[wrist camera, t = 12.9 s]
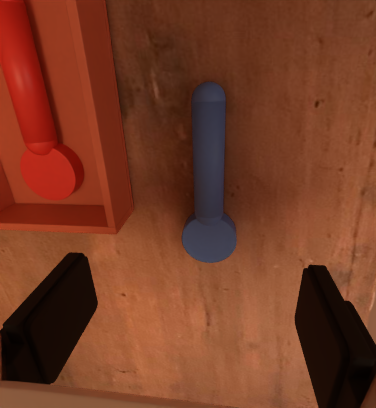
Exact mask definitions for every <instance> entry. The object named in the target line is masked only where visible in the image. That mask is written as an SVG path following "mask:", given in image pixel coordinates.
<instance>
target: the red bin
mask: <svg viewBox="0 0 376 408" xmlns="http://www.w3.org/2000/svg"><path fill="white" fill-rule="evenodd" d="M23 1H24V3H25V6H26V11H27V15H28V19H29V23H30V27H31V31H32V35H33V39H34V43H35V48H36V52H37V56H38V60H39V64H40V68H41V72H42V76H43V81H44V85H45V89H46V93H47V97H48V101H49V105H50V109H51V113H52V118H53V122H54V126H55V130H56V134H57V138H58V142H59V143H62V144H64V145H66V146H68V147H69V148H70V149H72V150H73V151H74V152H75V153H76V155H77V156H78V157H79V159H80V161H81V163H82V165H83V169H84V180H83V183H82V185H81V186H80V188H79V189H78V190H76V191H75V192H74V193H72V194H71V195H70V196H68V197H67V198H65V199H62V200H48V199H45V198H43V197H41V196H39V195H37V194H36V193H35V192H34V191H32V190H31V189H30V188H29V186H28V185H27V184H26V182H25V181H24V179H23V176H22V174H21V169H20V161H21V157H22V155H23V153H24V152H25V151H26V150H27V147H26V146H25V144H24V141H23V138H22V134H21V131H20V128H19V124H18V121H17V118H16V114H15V111H14V108H13V104H12V101H11V98H10V94H9V91H8V88H7V84H6V81H5V77H4V74H3V71H2V67H1V64H0V230H24V231H48V232H73V233H97V234H117V233H118V232H119V230H120V229H121V227H122V226H123V225H124V223H125V222H126V220H127V219H128V218H129V216H130V215H131V213H132V212H133V210H134V205H133V198H132V191H131V184H130V176H129V169H128V162H127V154H126V147H125V140H124V133H123V125H122V118H121V111H120V104H119V96H118V89H117V82H116V74H115V67H114V60H113V53H112V45H111V38H110V31H109V24H108V16H107V9H106V2H105V0H23Z"/></svg>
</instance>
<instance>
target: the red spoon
mask: <svg viewBox="0 0 376 408" xmlns="http://www.w3.org/2000/svg"><path fill="white" fill-rule="evenodd" d="M0 64H1V67H2V71H3V74H4V77H5V81H6V84H7V88H8V91H9V94H10V98H11V101H12V104H13V108H14V111H15V114H16V118H17V121H18V124H19V128H20V131H21V134H22V138H23V141H24V144H25V146H26V147H27V150H26V151H25V152H24V153H23V155H22V157H21V161H20V169H21V174H22V176H23V179H24V181H25V182H26V184H27V185H28V186H29V188H30V189H31V190H32V191H34V192H35V193H36V194H37V195H39V196H41V197H43V198H45V199H48V200H62V199H65V198H67V197H68V196H70V195H71V194H72V193H74V192H75V191H76V190H78V189H79V188H80V186H81V185H82V183H83V180H84V169H83V165H82V163H81V161H80V159H79V157H78V156H77V155H76V153H75V152H74V151H73V150H72V149H70V148H69V147H68V146H66V145H64V144H62V143H59V142H58V138H57V134H56V130H55V126H54V122H53V118H52V113H51V109H50V105H49V101H48V97H47V93H46V89H45V85H44V81H43V76H42V72H41V68H40V64H39V60H38V56H37V52H36V48H35V43H34V39H33V35H32V31H31V27H30V23H29V19H28V15H27V11H26V6H25V3H24V1H23V0H0Z"/></svg>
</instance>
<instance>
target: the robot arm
mask: <svg viewBox="0 0 376 408" xmlns="http://www.w3.org/2000/svg"><path fill="white" fill-rule="evenodd" d="M97 305H98V301H97V296H96V292H95V288H94V283H93V279H92V275H91V270H90V266H89V262H88V258H87V257H86V256H84V254H83V253H72V252H71V253H68V254H67V255H66V256H65V257H64V258H63V259H62V261H61V262H60V263H59V264H58V265H57V266H56V267H55V268H54V269H53V270H52V271H51V272H50V274H49V275H48V276H47V277H46V278H45V279H44V280H43V281H42V282H41V283H40V284H39V286H38V287H37V288H36V289H35V290H34V291H33V292H32V293H31V294H30V295H29V296H28V297H27V299H26V300H25V301H24V302H23V303H22V304H21V305H20V306H19V307H18V308H17V309H16V310H15V312H14V313H13V314H12V315H11V316H10V317H9V318H8V319H7V320H6V321H5V322H4V324H3V328H2V329H1V330H0V408H237V407H230V406H222V405H214V404H206V403H199V402H191V401H183V400H175V399H166V398H158V397H150V396H142V395H134V394H126V393H117V392H109V391H101V390H92V389H83V388H75V387H66V386H58V385H50V384H51V383H54V382H55V380H56V379H57V377H58V376H59V374H60V372H61V370H62V369H63V367H64V365H65V363H66V362H67V360H68V358H69V356H70V354H71V353H72V351H73V349H74V347H75V346H76V344H77V342H78V340H79V339H80V337H81V335H82V333H83V332H84V330H85V328H86V326H87V325H88V323H89V321H90V319H91V318H92V316H93V314H94V312H95V311H96V309H97ZM295 326H296V329H297V333H298V336H299V340H300V343H301V347H302V350H303V354H304V358H305V361H306V365H307V368H308V372H309V375H310V379H311V382H312V386H313V389H314V393H315V396H316V400H317V403H318V407H319V408H376V344H375V343H374V341H373V339H372V337H371V336H370V334H369V332H368V330H367V329H366V327H365V325H364V323H363V322H362V320H361V318H360V316H359V315H358V313H357V311H356V309H355V307H354V306H353V304H352V303H351V302H350V301H344V299H343V297H342V296H341V294H340V292H339V290H338V288H337V286H336V284H335V283H334V281H333V279H332V277H331V275H330V273H329V271H328V270H327V268H326V266H324V265H309V266H308V268H304V270H303V274H302V280H301V285H300V291H299V296H298V302H297V307H296V313H295Z"/></svg>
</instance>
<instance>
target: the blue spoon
mask: <svg viewBox="0 0 376 408" xmlns="http://www.w3.org/2000/svg"><path fill="white" fill-rule="evenodd" d="M191 104H192V139H193V173H194V208H195V213H193V214H192V215H191V216H190V217H189V218H188V219H187V221H186V223H185V226H184V229H183V233H182V243H183V246H184V248H185V250H186V251H187V253H188V254H189V255H190V256H192V257H193V258H195V259H197V260H199V261H202V262H207V263H214V262H219V261H222V260H224V259H226V258H227V257H229V256H230V255H231V254H232V252H233V251H234V249H235V247H236V242H237V240H236V228H235V225H234V223H233V221H232V220H231V218H230V217H229V216H227V215H226V214H225V213H223V200H224V156H225V113H226V96H225V93H224V91H223V89H222V88H221V86H219V85H218V84H216V83H214V82H204V83H202V84H200V85H198V86H197V87H196V89H195V90H194V92H193V94H192V101H191Z"/></svg>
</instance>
